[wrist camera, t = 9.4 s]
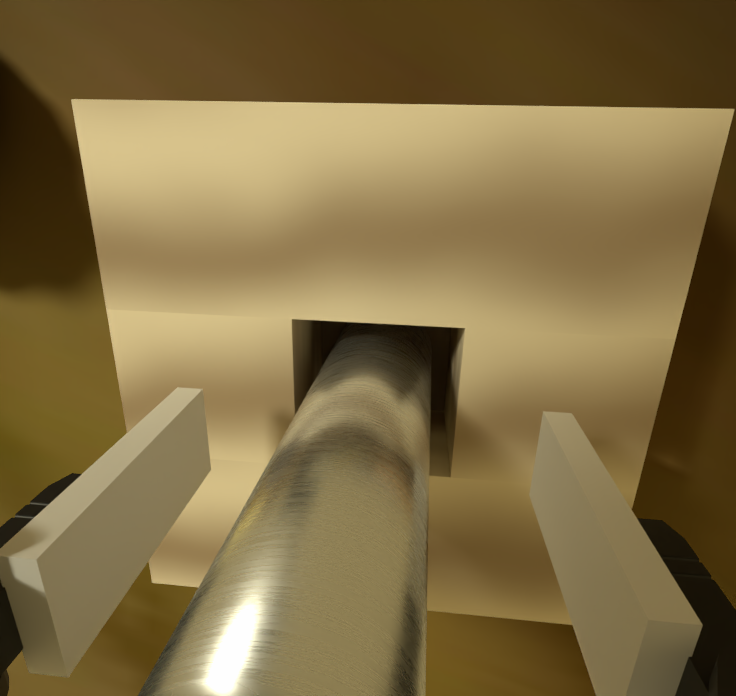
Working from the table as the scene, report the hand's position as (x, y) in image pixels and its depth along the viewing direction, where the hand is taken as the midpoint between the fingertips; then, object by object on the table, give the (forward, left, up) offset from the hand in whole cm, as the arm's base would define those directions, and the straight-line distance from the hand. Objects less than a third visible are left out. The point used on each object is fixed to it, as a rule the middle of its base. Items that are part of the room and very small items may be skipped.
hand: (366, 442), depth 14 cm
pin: (0, 0, -7) cm, 7 cm away
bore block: (0, 0, -9) cm, 9 cm away
